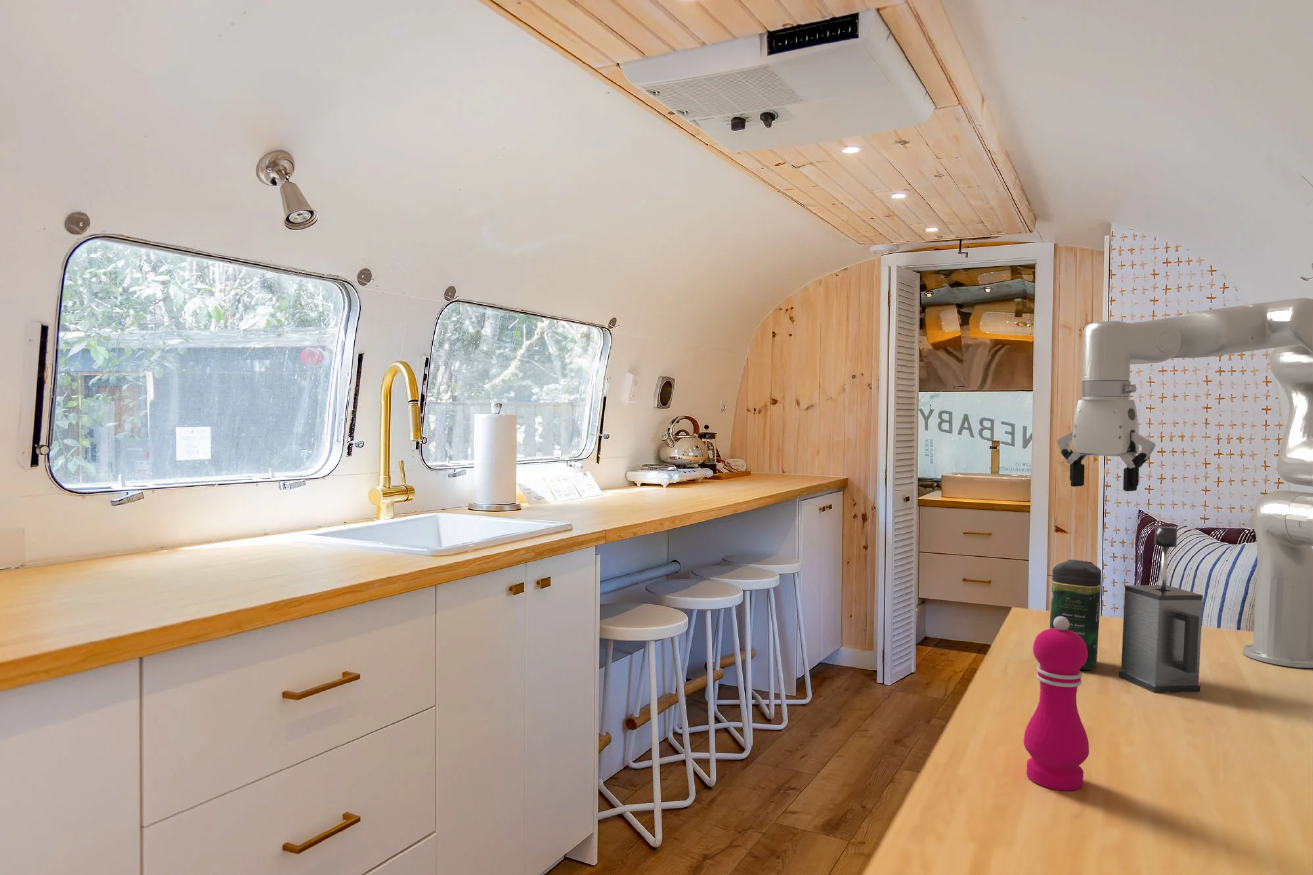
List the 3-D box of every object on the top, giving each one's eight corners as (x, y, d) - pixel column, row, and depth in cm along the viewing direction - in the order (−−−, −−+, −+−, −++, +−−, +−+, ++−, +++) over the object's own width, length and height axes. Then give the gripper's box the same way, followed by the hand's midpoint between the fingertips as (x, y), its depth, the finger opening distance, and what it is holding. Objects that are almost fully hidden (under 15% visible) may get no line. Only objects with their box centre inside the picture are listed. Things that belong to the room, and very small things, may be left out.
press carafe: (1162, 675, 152) (1166, 584, 151) (1213, 696, 141) (1218, 599, 140) (1118, 676, 150) (1123, 585, 150) (1167, 698, 139) (1171, 599, 139)
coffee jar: (1094, 674, 151) (1098, 567, 151) (1044, 666, 156) (1048, 562, 155) (1100, 661, 160) (1104, 560, 159) (1052, 654, 164) (1057, 555, 163)
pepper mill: (1032, 762, 112) (1039, 606, 111) (1094, 779, 107) (1101, 616, 106) (1014, 780, 106) (1021, 616, 105) (1078, 798, 101) (1086, 627, 101)
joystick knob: (1164, 604, 150) (1168, 525, 149) (1189, 612, 144) (1193, 529, 144) (1135, 604, 149) (1139, 525, 148) (1159, 612, 143) (1163, 529, 143)
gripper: (1166, 391, 150) (1164, 491, 150) (1071, 392, 164) (1069, 483, 165) (1142, 391, 146) (1140, 493, 146) (1047, 392, 160) (1045, 485, 161)
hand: (1103, 488), depth 156 cm, fingers open, 9 cm apart
